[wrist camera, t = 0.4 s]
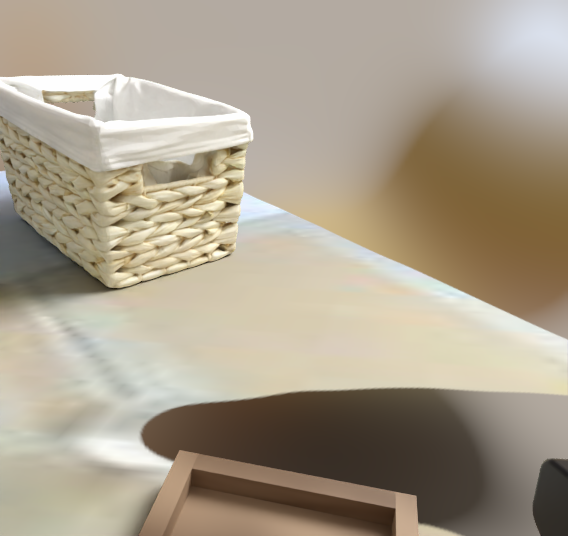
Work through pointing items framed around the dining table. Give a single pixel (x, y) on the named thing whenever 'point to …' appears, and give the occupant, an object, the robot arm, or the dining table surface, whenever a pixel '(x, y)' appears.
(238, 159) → the storage basket
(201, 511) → the walnut tray
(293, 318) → the dining table surface
